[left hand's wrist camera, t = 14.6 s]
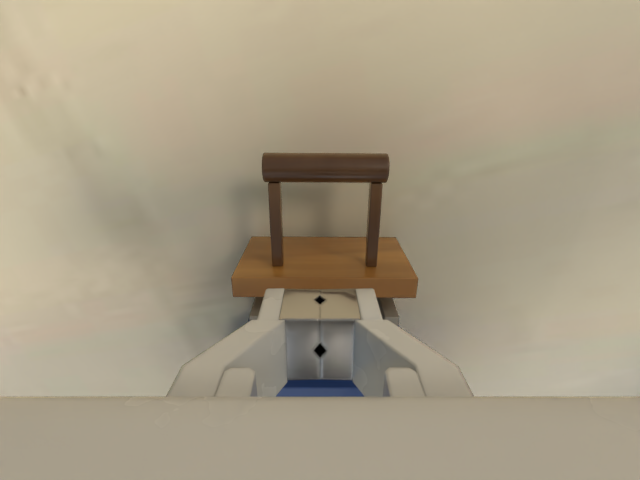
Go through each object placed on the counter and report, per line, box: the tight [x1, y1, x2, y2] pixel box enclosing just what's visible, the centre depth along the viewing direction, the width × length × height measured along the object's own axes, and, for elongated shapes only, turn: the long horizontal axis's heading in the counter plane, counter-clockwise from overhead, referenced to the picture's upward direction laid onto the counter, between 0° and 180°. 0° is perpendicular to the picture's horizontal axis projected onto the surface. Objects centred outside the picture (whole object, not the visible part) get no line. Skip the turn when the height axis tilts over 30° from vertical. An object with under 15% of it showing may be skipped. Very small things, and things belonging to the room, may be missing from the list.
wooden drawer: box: [231, 153, 418, 326], centre depth 22 cm, size 18×10×6 cm, turn 0°
